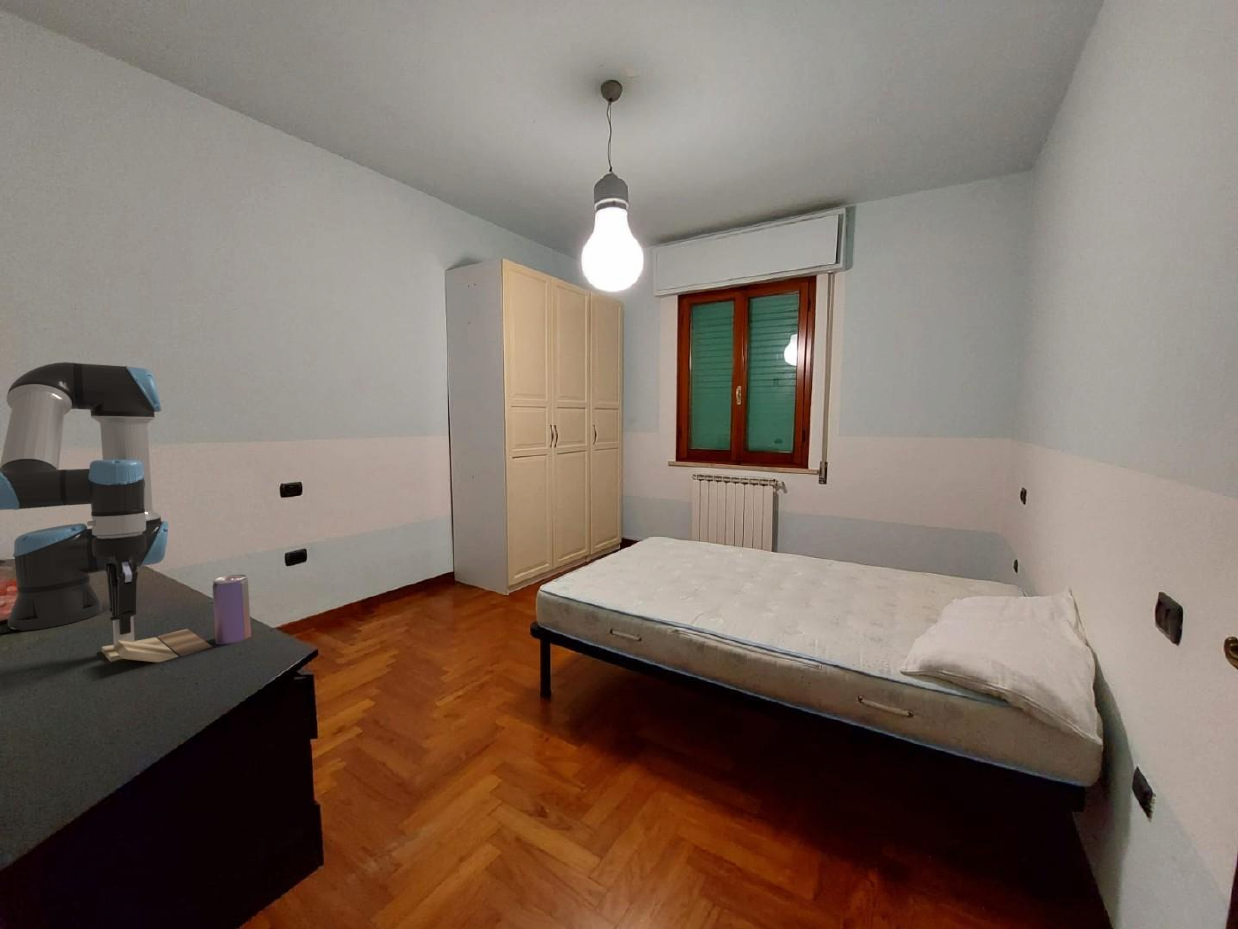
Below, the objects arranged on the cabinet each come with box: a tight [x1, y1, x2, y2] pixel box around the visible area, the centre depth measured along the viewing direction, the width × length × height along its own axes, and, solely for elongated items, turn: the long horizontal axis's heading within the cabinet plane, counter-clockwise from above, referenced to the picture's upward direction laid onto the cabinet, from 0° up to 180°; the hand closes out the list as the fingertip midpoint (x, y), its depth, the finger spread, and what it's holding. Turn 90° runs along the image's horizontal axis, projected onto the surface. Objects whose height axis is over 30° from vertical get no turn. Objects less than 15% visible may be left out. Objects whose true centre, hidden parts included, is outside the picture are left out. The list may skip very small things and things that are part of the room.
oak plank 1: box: [101, 636, 167, 663], centre depth 97 cm, size 8×8×2 cm
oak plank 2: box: [113, 640, 179, 663], centre depth 92 cm, size 8×8×2 cm
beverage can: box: [212, 573, 252, 645], centre depth 101 cm, size 6×6×15 cm
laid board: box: [156, 628, 213, 657], centre depth 100 cm, size 17×5×2 cm, turn 57°
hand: (124, 647), depth 95 cm, fingers closed
